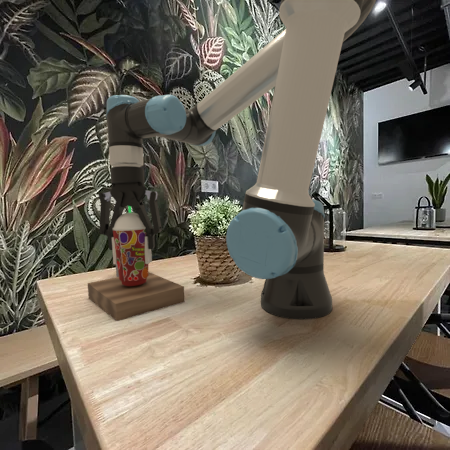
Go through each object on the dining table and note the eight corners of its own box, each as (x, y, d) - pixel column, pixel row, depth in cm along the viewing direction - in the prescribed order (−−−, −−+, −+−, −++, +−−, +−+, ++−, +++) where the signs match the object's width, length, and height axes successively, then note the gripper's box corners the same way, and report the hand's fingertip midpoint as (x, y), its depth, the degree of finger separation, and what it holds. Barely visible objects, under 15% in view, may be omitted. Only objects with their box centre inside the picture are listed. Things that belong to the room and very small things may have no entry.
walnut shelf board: (184, 302, 68) (183, 286, 67) (116, 323, 57) (115, 304, 57) (147, 284, 83) (146, 271, 83) (88, 298, 73) (87, 283, 72)
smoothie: (141, 288, 65) (136, 200, 63) (108, 287, 67) (102, 201, 65) (157, 278, 73) (153, 200, 71) (127, 277, 75) (123, 201, 73)
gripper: (172, 167, 70) (176, 258, 73) (93, 169, 71) (100, 260, 74) (165, 163, 63) (169, 265, 65) (77, 166, 64) (84, 267, 66)
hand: (132, 262), depth 69 cm, fingers closed on smoothie, 7 cm apart
